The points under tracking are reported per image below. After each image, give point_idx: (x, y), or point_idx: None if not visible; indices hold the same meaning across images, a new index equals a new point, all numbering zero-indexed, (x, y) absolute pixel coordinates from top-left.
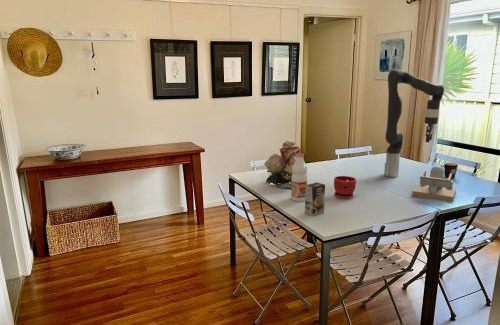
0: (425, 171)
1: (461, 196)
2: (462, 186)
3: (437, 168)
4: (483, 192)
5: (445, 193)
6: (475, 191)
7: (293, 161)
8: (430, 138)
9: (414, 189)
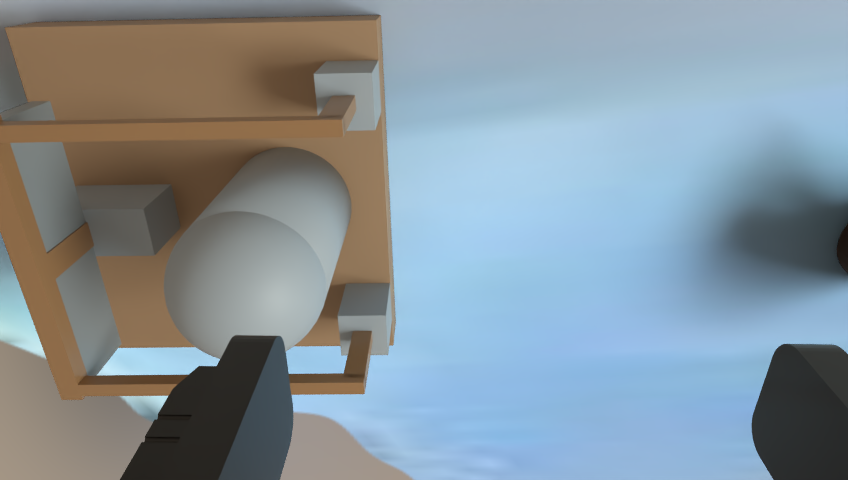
0: (284, 137)
1: (299, 361)
2: (588, 349)
3: (174, 318)
4: (487, 462)
5: (154, 294)
6: (486, 425)
7: None
8: (789, 457)
9: (74, 35)
